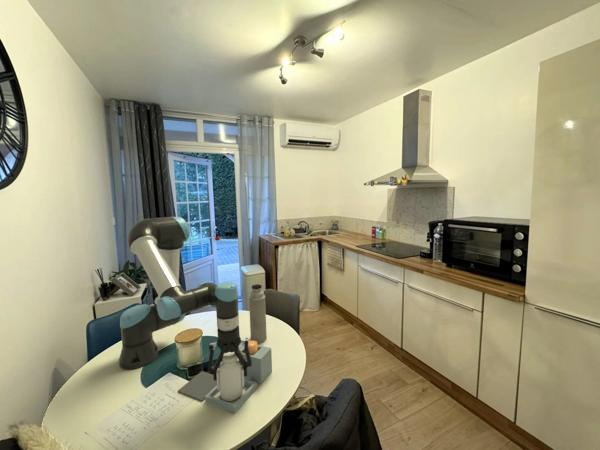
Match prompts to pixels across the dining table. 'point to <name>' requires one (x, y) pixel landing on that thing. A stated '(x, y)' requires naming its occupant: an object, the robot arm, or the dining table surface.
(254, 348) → the plunger
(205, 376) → the mat
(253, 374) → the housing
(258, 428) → the dining table surface
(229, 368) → the pill bottle
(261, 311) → the thermos bottle
